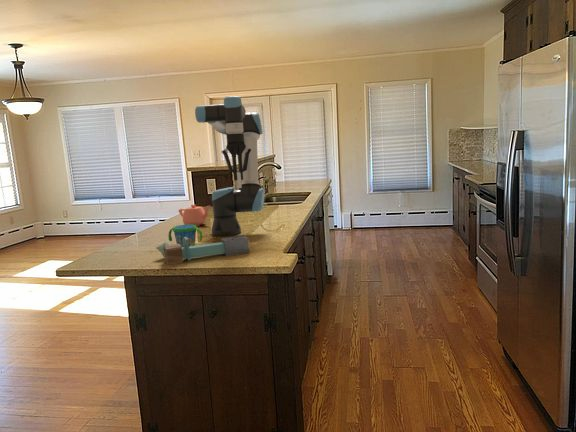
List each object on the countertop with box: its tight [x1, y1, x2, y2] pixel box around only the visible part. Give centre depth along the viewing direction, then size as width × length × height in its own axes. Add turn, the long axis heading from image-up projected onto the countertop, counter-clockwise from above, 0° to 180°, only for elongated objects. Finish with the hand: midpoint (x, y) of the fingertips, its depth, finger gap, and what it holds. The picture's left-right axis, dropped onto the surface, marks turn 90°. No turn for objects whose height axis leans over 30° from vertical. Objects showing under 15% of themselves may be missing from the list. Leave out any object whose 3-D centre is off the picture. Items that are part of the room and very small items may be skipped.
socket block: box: [164, 243, 184, 265], centre depth 186 cm, size 7×6×6 cm
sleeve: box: [220, 235, 250, 257], centre depth 194 cm, size 7×10×6 cm, turn 110°
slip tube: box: [182, 237, 225, 262], centre depth 189 cm, size 6×24×9 cm, turn 110°
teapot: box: [178, 204, 212, 228], centre depth 268 cm, size 13×20×12 cm, turn 80°
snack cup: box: [168, 224, 203, 247], centre depth 209 cm, size 16×10×10 cm
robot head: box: [155, 241, 172, 258], centre depth 193 cm, size 8×4×7 cm, turn 83°
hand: (239, 187), depth 203 cm, fingers closed
